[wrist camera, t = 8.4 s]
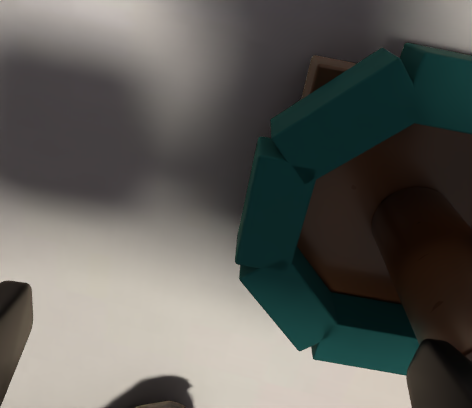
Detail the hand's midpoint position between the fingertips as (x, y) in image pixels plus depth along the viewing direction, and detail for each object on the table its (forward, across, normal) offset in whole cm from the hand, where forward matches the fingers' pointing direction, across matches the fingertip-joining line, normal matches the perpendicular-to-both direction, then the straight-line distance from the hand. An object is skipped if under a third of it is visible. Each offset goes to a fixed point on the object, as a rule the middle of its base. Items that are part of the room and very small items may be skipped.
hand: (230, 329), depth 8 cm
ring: (+6, -5, 0) cm, 8 cm away
